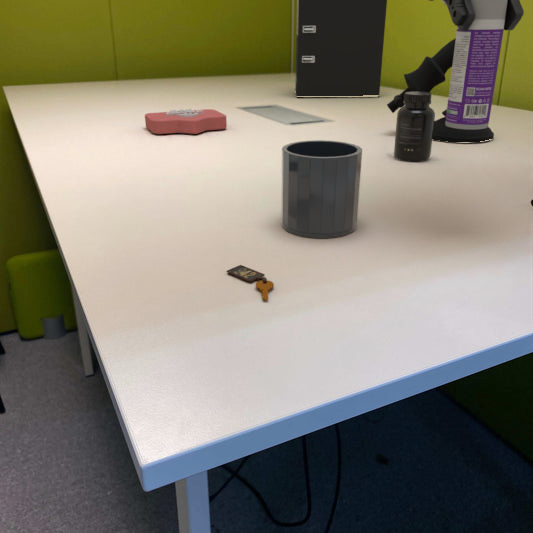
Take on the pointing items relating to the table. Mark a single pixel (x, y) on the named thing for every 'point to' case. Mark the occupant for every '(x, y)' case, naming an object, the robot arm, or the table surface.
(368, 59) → the binder
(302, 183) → the grey cylindrical cup
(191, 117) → the red sponge
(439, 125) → the sculpture
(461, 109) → the container
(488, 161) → the table surface
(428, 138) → the supplement bottle
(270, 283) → the key tag
